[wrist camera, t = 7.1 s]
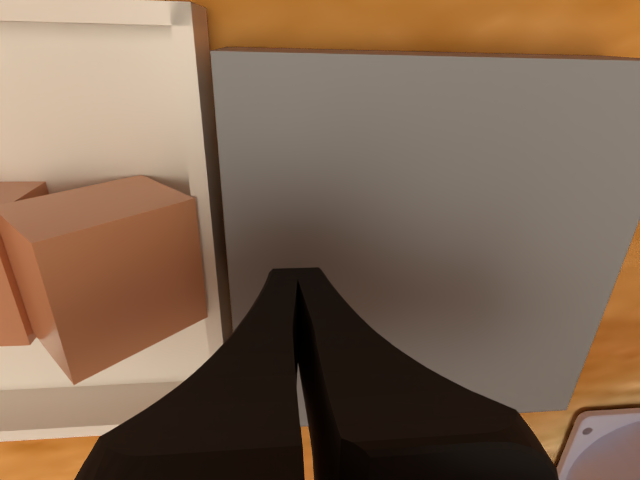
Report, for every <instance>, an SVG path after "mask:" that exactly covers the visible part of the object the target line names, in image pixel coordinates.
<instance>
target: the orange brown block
mask: <svg viewBox="0 0 640 480" xmlns="http://www.w3.org/2000/svg"><path fill="white" fill-rule="evenodd" d="M0 234H1V237H2V240H3V243H4V246H5V249H6V252H7V255H8V258H9V261H10V264H11V267H12V270H13V273H14V276H15V279H16V282H17V285H18V288H19V291H20V294H21V297H22V300H23V303H24V306H25V309H26V312H27V315H28V318H29V321H30V324H31V327H32V330H33V333H34V335H35V336H36V337H37V338H38V340H39V341H40V342H41V343H42V345H43V346H44V347H45V349H46V350H47V351H48V352H49V354H50V355H51V356H52V358H53V359H54V360H55V361H56V363H57V364H58V365H59V367H60V368H61V369H62V370H63V372H64V373H65V374H66V376H67V377H68V378H69V379H70V381H71V382H72V383H73V385H75V384H77V383H79V382H81V381H83V380H85V379H87V378H89V377H91V376H93V375H95V374H97V373H99V372H101V371H103V370H105V369H107V368H109V367H111V366H113V365H114V364H116V363H118V362H120V361H122V360H124V359H126V358H128V357H130V356H132V355H134V354H136V353H138V352H140V351H142V350H144V349H146V348H148V347H150V346H152V345H154V344H156V343H158V342H160V341H162V340H164V339H166V338H168V337H170V336H172V335H173V334H175V333H177V332H179V331H181V330H183V329H185V328H187V327H189V326H191V325H193V324H195V323H197V322H199V321H201V320H203V319H205V318H207V317H208V315H207V305H206V296H205V286H204V277H203V268H202V258H201V249H200V239H199V230H198V221H197V211H196V202H195V198H193V197H191V196H189V195H186V194H184V193H182V192H180V191H177V190H175V189H173V188H171V187H168V186H166V185H164V184H161V183H159V182H157V181H155V180H152V179H150V178H148V177H146V176H143V175H138V176H133V177H128V178H124V179H119V180H114V181H109V182H105V183H100V184H95V185H90V186H86V187H81V188H76V189H72V190H67V191H62V192H57V193H53V194H48V195H43V196H38V197H34V198H29V199H24V200H20V201H15V202H10V203H5V204H1V205H0Z"/></svg>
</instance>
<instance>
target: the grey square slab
mask: <svg viewBox="0 0 640 480" xmlns="http://www.w3.org/2000/svg"><path fill="white" fill-rule="evenodd" d="M210 54H211V66H212V78H213V91H214V103H215V115H216V127H217V140H218V152H219V164H220V177H221V189H222V201H223V214H224V226H225V238H226V250H227V263H228V275H229V287H230V300H231V312H232V324H233V332H234V330H235V329H236V328H237V326H238V325H239V324H240V322H241V321H242V320H243V318H244V317H245V316H246V314H247V313H248V311H249V310H250V308H251V307H252V305H253V303H254V302H255V300H256V299H257V297H258V295H259V294H260V292H261V290H262V288H263V286H264V284H265V282H266V280H267V277H268V274H269V272H270V271H271V270H272V269H278V268H313V267H319V268H320V269H321V270H322V271H323V273H324V274H325V275H326V277H327V278H328V280H329V281H330V282H331V284H332V285H333V286H334V288H335V289H336V290H337V291H338V293H339V294H340V295H341V296H342V297H343V299H344V300H345V301H346V302H347V303H348V304H349V305H350V306H351V308H352V309H353V310H354V311H355V312H356V313H357V314H358V315H359V316H360V317H361V318H362V319H363V320H364V321H365V322H366V323H367V324H368V325H369V326H370V327H371V328H373V329H374V330H375V331H376V332H377V333H378V334H380V335H381V336H382V337H383V338H385V339H386V340H387V341H389V342H390V343H391V344H392V345H394V346H395V347H396V348H398V349H399V350H401V351H402V352H404V353H405V354H407V355H408V356H410V357H411V358H413V359H414V360H416V361H417V362H419V363H421V364H422V365H424V366H425V367H427V368H429V369H431V370H432V371H434V372H436V373H438V374H439V375H441V376H443V377H445V378H447V379H449V380H451V381H453V382H455V383H457V384H459V385H461V386H463V387H465V388H467V389H469V390H471V391H473V392H476V393H478V394H480V395H483V396H485V397H487V398H490V399H492V400H494V401H497V402H499V403H502V404H504V405H506V406H509V407H511V408H513V409H516V410H517V411H518V413H527V412H543V411H559V410H567V407H568V405H569V402H570V400H571V397H572V394H573V392H574V389H575V386H576V384H577V381H578V379H579V376H580V373H581V371H582V368H583V366H584V363H585V360H586V358H587V355H588V353H589V350H590V347H591V345H592V342H593V340H594V337H595V334H596V332H597V329H598V327H599V324H600V321H601V319H602V316H603V314H604V311H605V308H606V306H607V303H608V301H609V298H610V295H611V293H612V290H613V288H614V285H615V282H616V280H617V277H618V275H619V272H620V269H621V267H622V264H623V261H624V259H625V256H626V254H627V251H628V248H629V246H630V243H631V241H632V238H633V235H634V233H635V230H636V228H637V225H638V222H639V220H640V58H629V57H613V56H588V55H546V54H504V53H462V52H420V51H378V50H336V49H294V48H253V47H224V48H220V49H216V50H212V51H210ZM297 397H298V408H299V418H300V427H301V426H308V420H307V414H306V408H305V402H304V397H303V391H302V385H301V378H300V372H299V366H298V371H297Z"/></svg>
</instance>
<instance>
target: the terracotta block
mask: <svg viewBox="0 0 640 480" xmlns="http://www.w3.org/2000/svg"><path fill="white" fill-rule="evenodd" d="M48 194H49V192H48V189H47V185H46V181H32V182H0V205H1V204H5V203H10V202H15V201H20V200H24V199H29V198H34V197H38V196H43V195H48ZM35 339H36V336H35V335H34V333H33V330H32V327H31V324H30V321H29V318H28V315H27V312H26V309H25V306H24V303H23V300H22V297H21V294H20V291H19V288H18V285H17V282H16V279H15V276H14V273H13V270H12V267H11V264H10V261H9V258H8V255H7V252H6V249H5V246H4V243H3V240H2V237H1V234H0V346H26V345H31V344H32V342H33V341H34V340H35Z"/></svg>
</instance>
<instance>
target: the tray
mask: <svg viewBox="0 0 640 480" xmlns="http://www.w3.org/2000/svg"><path fill="white" fill-rule="evenodd" d="M138 175H143V176H146V177H148V178H150V179H152V180H155V181H157V182H159V183H161V184H164V185H166V186H168V187H171V188H173V189H175V190H177V191H180V192H182V193H184V194H186V195H189V196H191V197H193V198H195V202H196V211H197V221H198V230H199V239H200V249H201V258H202V268H203V277H204V286H205V296H206V305H207V315H208V317H207V318H205V319H203V320H201V321H199V322H197V323H195V324H193V325H191V326H189V327H187V328H185V329H183V330H181V331H179V332H177V333H175V334H173V335H172V336H170V337H168V338H166V339H164V340H162V341H160V342H158V343H156V344H154V345H152V346H150V347H148V348H146V349H144V350H142V351H140V352H138V353H136V354H134V355H132V356H130V357H128V358H126V359H124V360H122V361H120V362H118V363H116V364H114V365H113V366H111V367H109V368H107V369H105V370H103V371H101V372H99V373H97V374H95V375H93V376H91V377H89V378H87V379H85V380H83V381H81V382H79V383H77V384H75V385H73V383H72V382H71V381H70V379H69V378H68V377H67V376H66V374H65V373H64V372H63V370H62V369H61V368H60V367H59V365H58V364H57V363H56V361H55V360H54V359H53V358H52V356H51V355H50V354H49V352H48V351H47V350H46V349H45V347H44V346H43V345H42V343H41V342H40V341H39V340H38V338H37V337H36V339H35V340H34V341H33V342H32V344H31V345H26V346H0V442H2V441H18V440H35V439H51V438H67V437H84V436H100V435H103V434H105V433H107V432H109V431H110V430H112V429H114V428H115V427H117V426H119V425H120V424H122V423H124V422H125V421H127V420H128V419H130V418H132V417H133V416H135V415H137V414H138V413H140V412H141V411H143V410H145V409H146V408H148V407H149V406H151V405H152V404H154V403H155V402H157V401H158V400H159V399H161V398H162V397H164V396H165V395H166V394H168V393H169V392H171V391H172V390H173V389H175V388H176V387H177V386H178V385H180V384H181V383H182V382H184V381H185V380H186V379H187V378H188V377H190V376H191V375H192V374H193V373H194V372H195V371H196V370H197V369H199V368H200V367H201V366H202V365H203V364H204V363H205V362H206V361H207V360H208V359H209V358H210V357H211V356H212V355H213V354H214V353H215V352H216V351H217V350H218V349H219V348H220V347H221V346H222V345H223V343H224V342H225V341H226V340H227V339H228V338H229V336H230V335H231V334H232V333H233V329H232V317H231V305H230V293H229V280H228V268H227V256H226V244H225V231H224V219H223V207H222V195H221V183H220V170H219V158H218V146H217V134H216V121H215V109H214V97H213V85H212V73H211V60H210V48H209V36H208V24H207V11H206V8H205V7H202V6H200V5H197V4H195V3H192V2H181V1H151V0H0V182H32V181H46V185H47V189H48V192H49V194H53V193H57V192H62V191H67V190H72V189H76V188H81V187H86V186H90V185H95V184H100V183H105V182H109V181H114V180H119V179H124V178H128V177H133V176H138Z"/></svg>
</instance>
